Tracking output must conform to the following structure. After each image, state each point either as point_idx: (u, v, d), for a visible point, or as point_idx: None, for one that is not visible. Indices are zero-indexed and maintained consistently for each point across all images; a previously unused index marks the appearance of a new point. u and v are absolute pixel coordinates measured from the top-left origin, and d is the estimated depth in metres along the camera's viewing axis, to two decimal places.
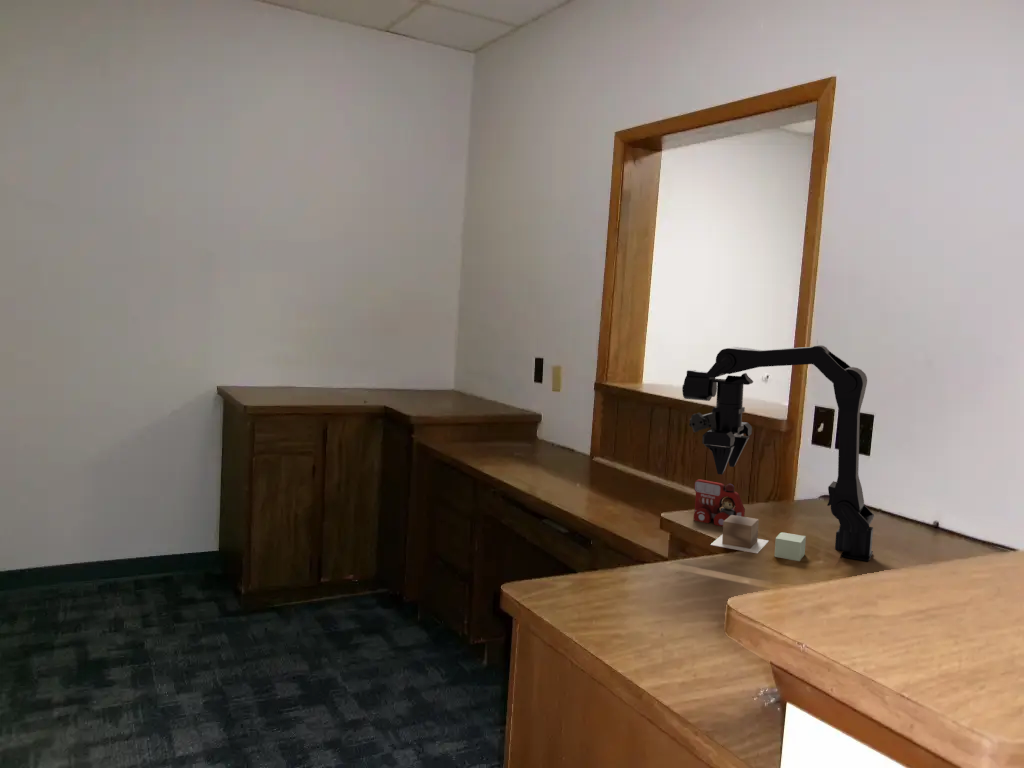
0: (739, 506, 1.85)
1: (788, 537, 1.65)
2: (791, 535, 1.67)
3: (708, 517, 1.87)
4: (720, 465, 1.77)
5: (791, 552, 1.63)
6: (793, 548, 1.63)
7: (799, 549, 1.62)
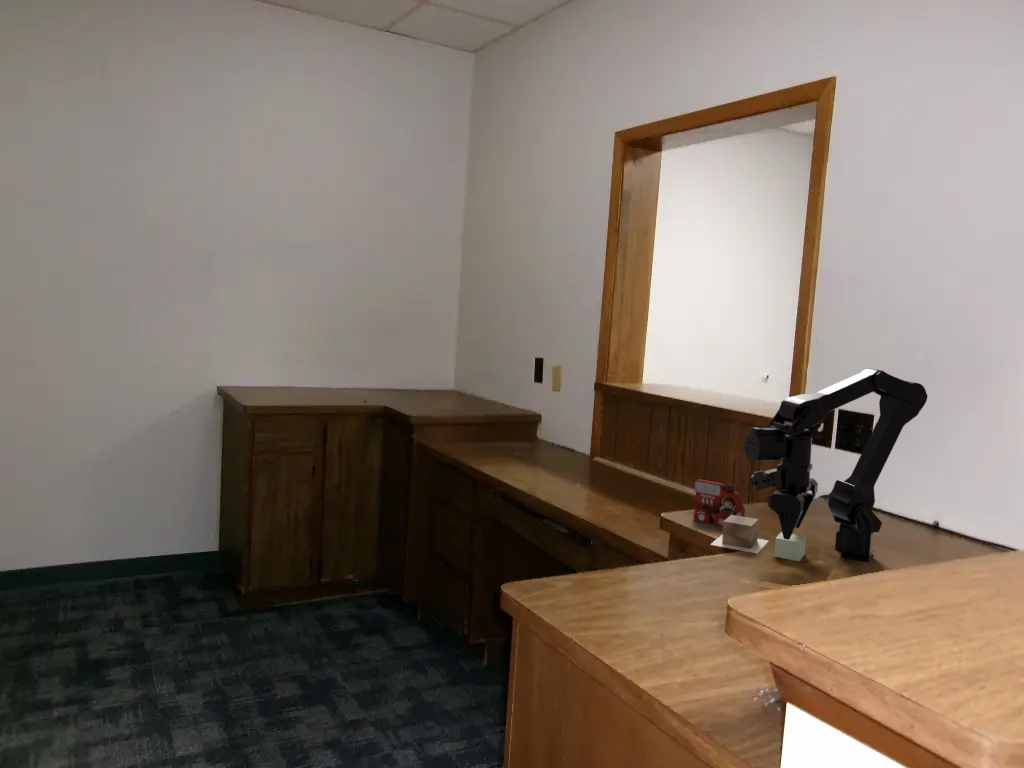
0: (739, 506, 1.85)
1: None
2: (791, 535, 1.67)
3: (708, 517, 1.87)
4: (787, 529, 1.60)
5: (791, 552, 1.63)
6: (793, 548, 1.63)
7: (799, 549, 1.62)
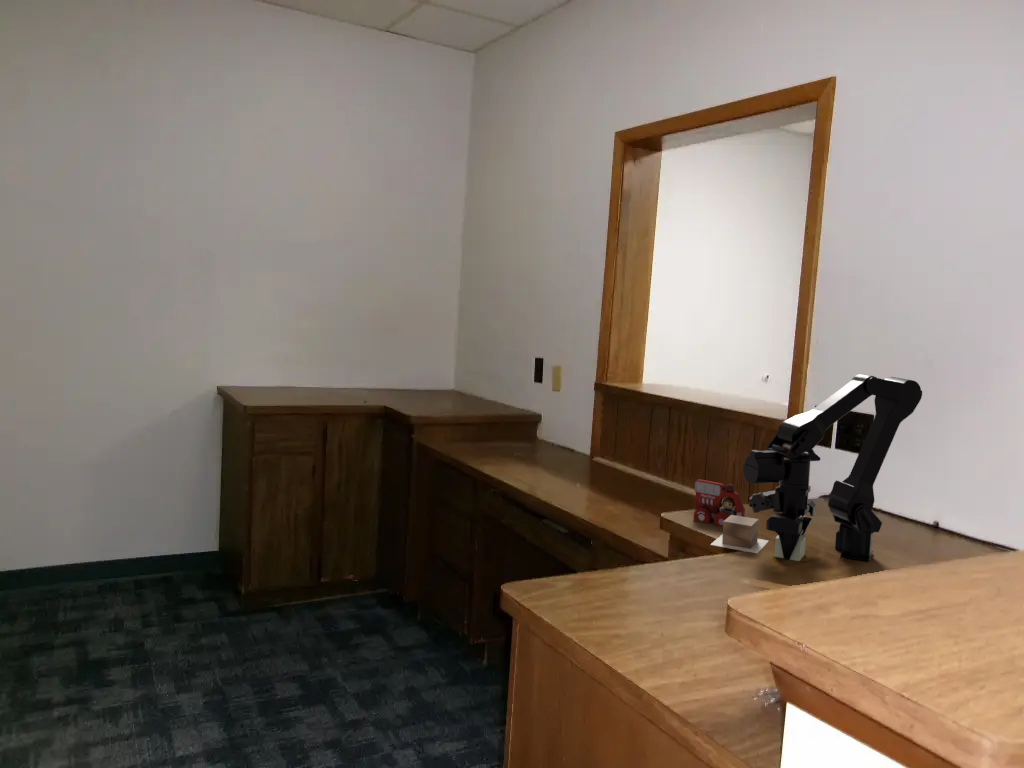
0: (739, 506, 1.85)
1: None
2: None
3: (708, 517, 1.87)
4: (787, 549, 1.63)
5: None
6: None
7: (799, 549, 1.62)
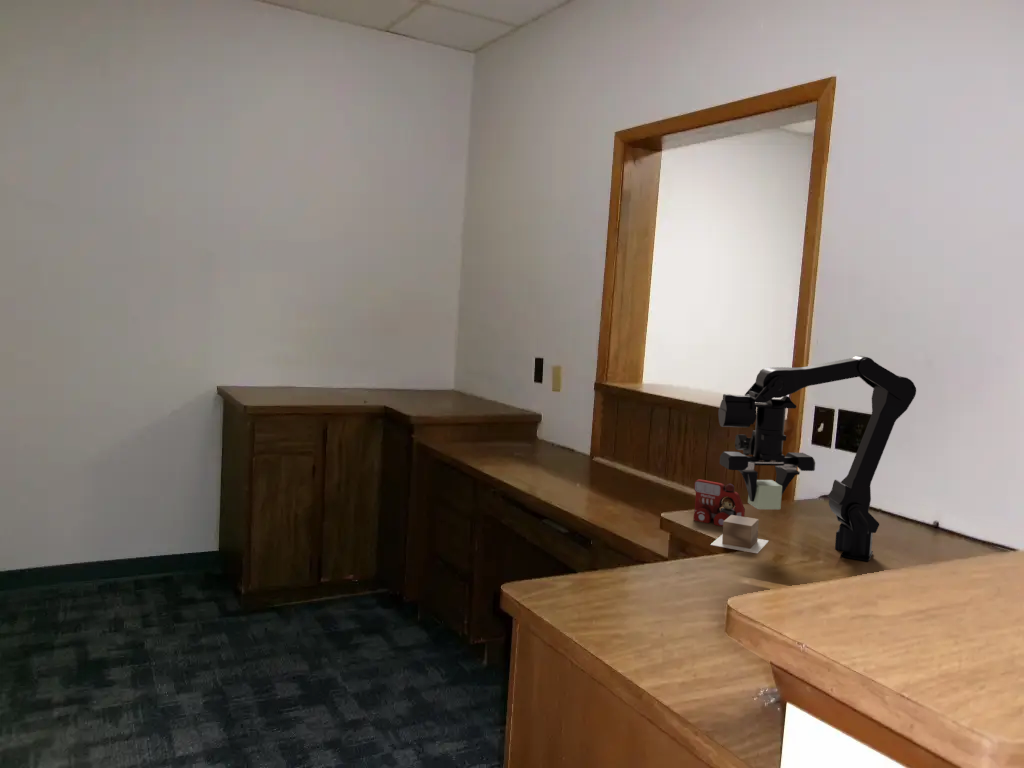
0: (739, 506, 1.85)
1: (763, 482, 1.68)
2: (772, 482, 1.68)
3: (708, 517, 1.87)
4: (750, 491, 1.67)
5: (755, 494, 1.67)
6: (756, 491, 1.67)
7: (758, 492, 1.65)
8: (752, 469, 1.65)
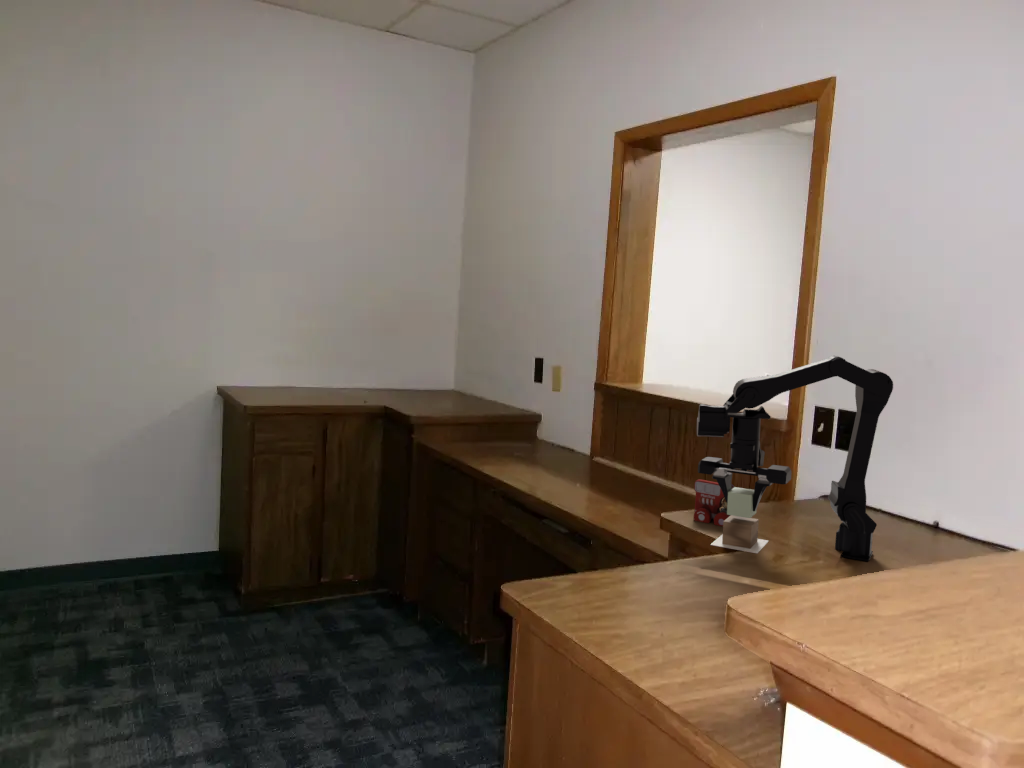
0: None
1: (741, 490, 1.73)
2: (750, 491, 1.71)
3: (708, 517, 1.87)
4: None
5: None
6: None
7: (728, 498, 1.72)
8: (722, 475, 1.72)
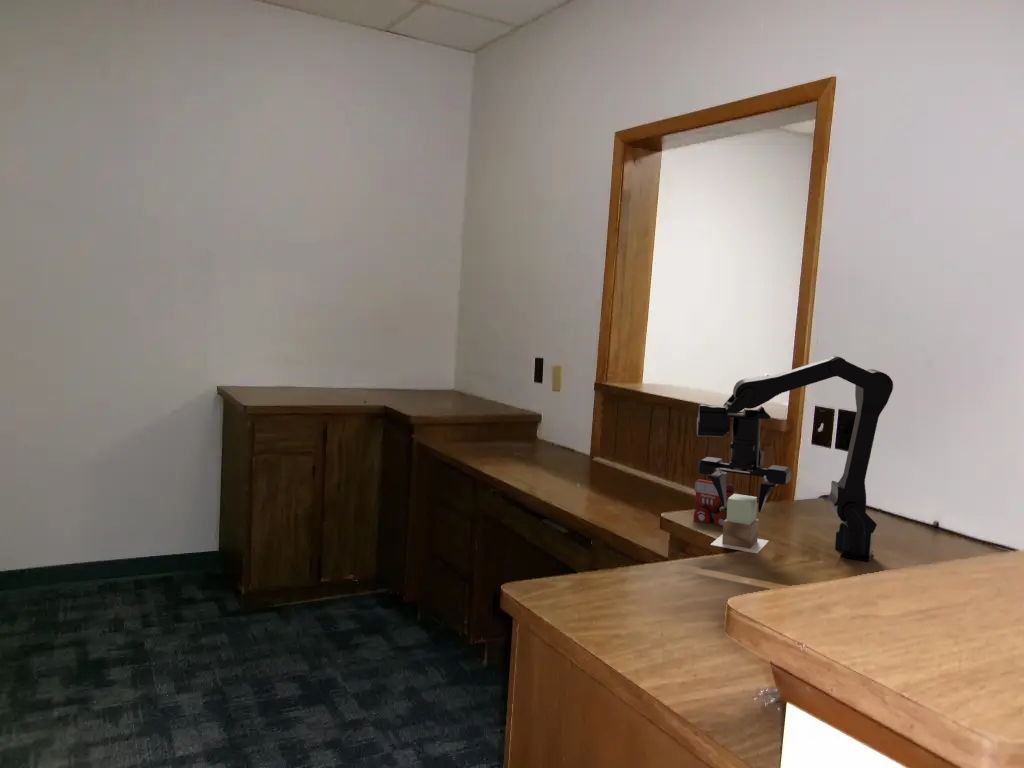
0: None
1: (741, 497, 1.73)
2: (749, 498, 1.72)
3: (708, 517, 1.87)
4: None
5: None
6: None
7: None
8: (716, 474, 1.73)
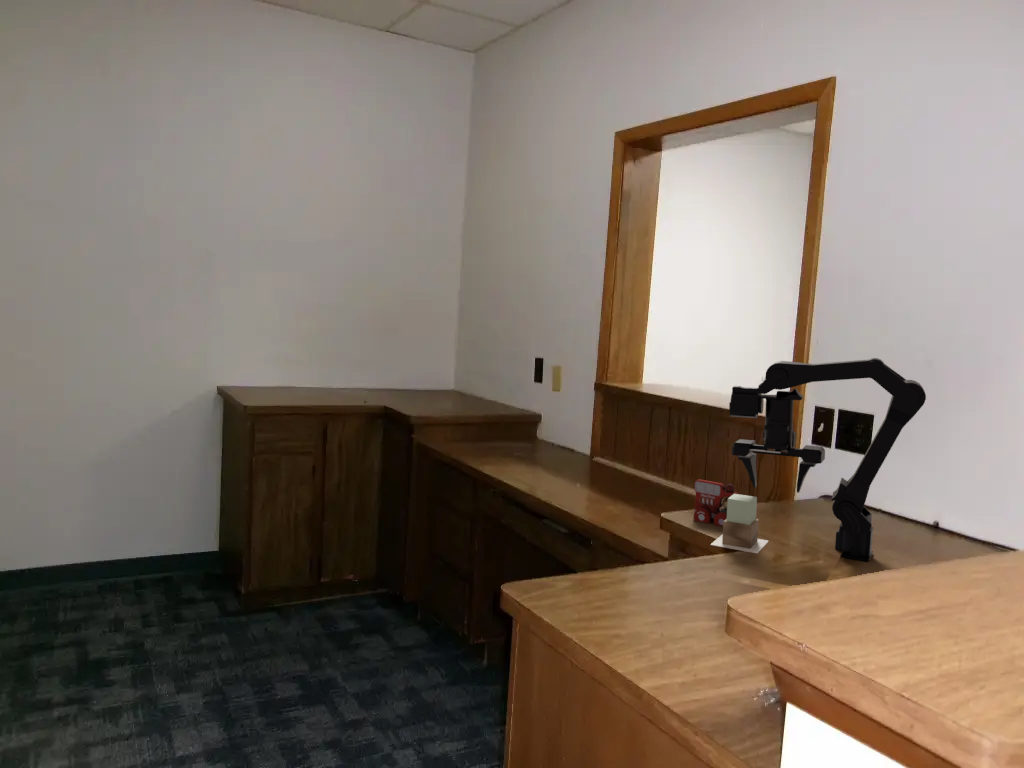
0: None
1: (741, 497, 1.73)
2: (749, 498, 1.72)
3: (708, 517, 1.87)
4: None
5: None
6: None
7: None
8: (747, 456, 1.75)
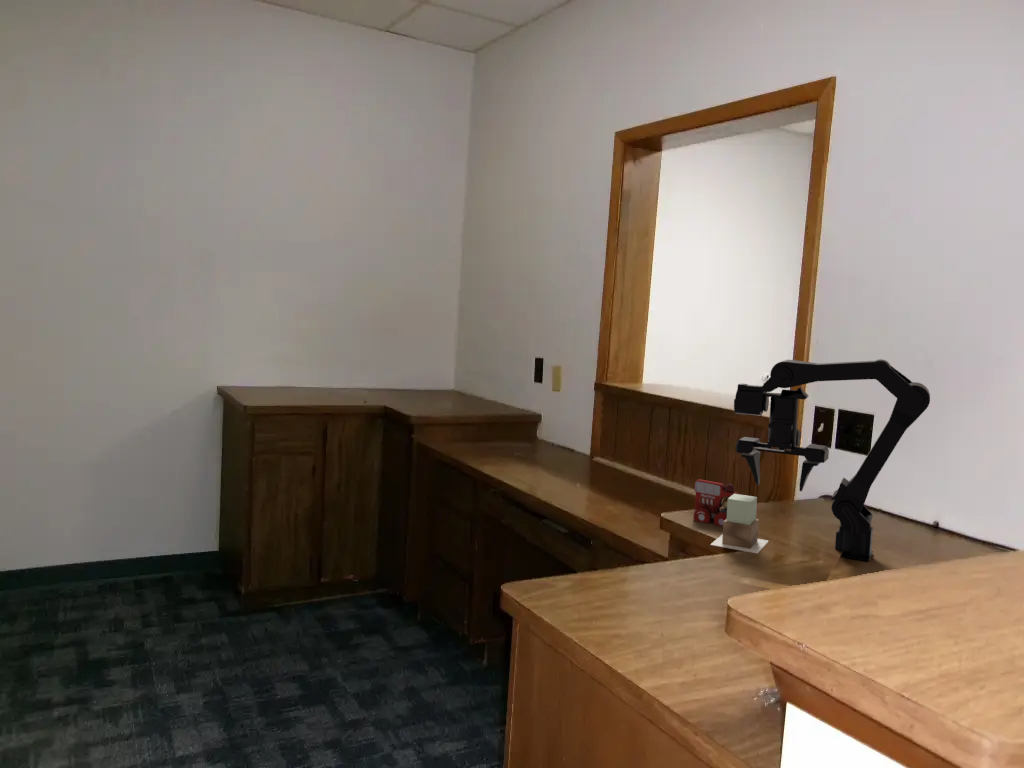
0: None
1: (741, 497, 1.73)
2: (749, 498, 1.72)
3: (708, 517, 1.87)
4: None
5: None
6: None
7: None
8: (751, 453, 1.76)
